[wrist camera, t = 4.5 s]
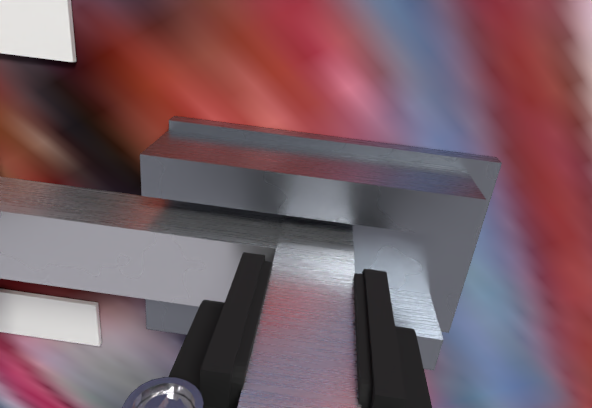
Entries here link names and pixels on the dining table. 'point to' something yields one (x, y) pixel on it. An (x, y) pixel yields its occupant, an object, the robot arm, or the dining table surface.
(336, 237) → the grey angular piece
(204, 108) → the dining table surface
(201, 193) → the grey metal bracket
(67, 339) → the strips
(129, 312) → the dining table surface
